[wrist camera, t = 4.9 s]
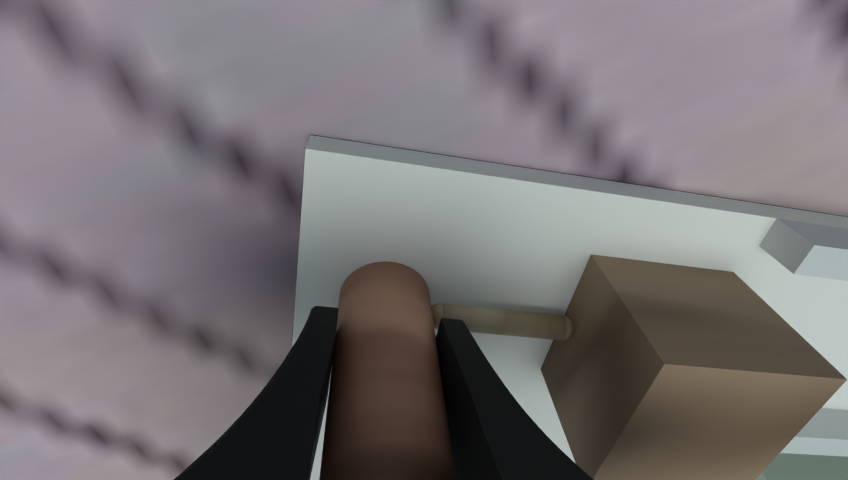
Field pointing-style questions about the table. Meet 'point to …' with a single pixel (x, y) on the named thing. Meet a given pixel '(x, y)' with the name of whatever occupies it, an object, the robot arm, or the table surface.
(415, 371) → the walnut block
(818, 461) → the sage block
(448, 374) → the robot arm
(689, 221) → the pale grey tray
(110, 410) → the table surface
